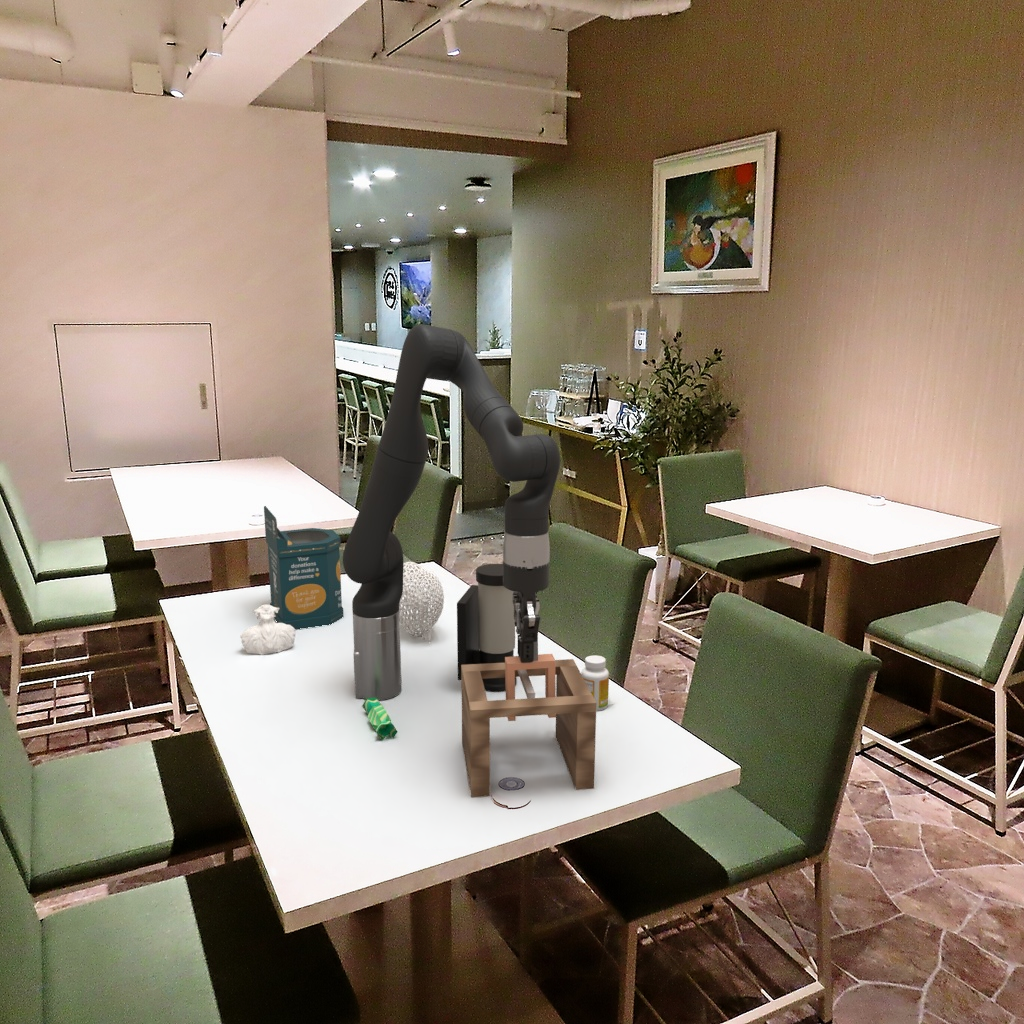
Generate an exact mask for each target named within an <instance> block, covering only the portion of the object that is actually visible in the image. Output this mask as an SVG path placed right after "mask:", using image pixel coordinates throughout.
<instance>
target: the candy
mask: <svg viewBox="0 0 1024 1024" xmlns="http://www.w3.org/2000/svg"><path fill="white" fill-rule="evenodd" d="M361 707H362V708H363V710H364V712H365V713H366V714H367V719H368V721H369V722H370V723H371V726H372V728H373V729H374V731H375V732H376V734H377V736H378V737H379V739H380V740H381V741H384V740H385V739H386V738H387V737H388V736H390V738H392V739H393V740H394V739H395V737H396V735H397V733H398V729H397V728H396V727H395V726H394V724H393V722H392V719H391V717H390V715H389V713H388V712H387V710H386V708H385V706H384V705H383V704H381V702H380V700H378V699H377V697H375V698H367V699H364V702H363V703H362V705H361Z"/></svg>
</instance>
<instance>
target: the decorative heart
mask: <svg viewBox="0 0 1024 1024" xmlns="http://www.w3.org/2000/svg"><path fill="white" fill-rule="evenodd" d="M444 594H445V593H444V589H443V585H442V583H441V580H440V579H439V578H438V576H436V574H434V573H433V572H431V571H429V570H426V569H425V568H424V566H422V565H420V564H419V563H416V562H414V561H406V562H403V593H402V597H401V599H400V603H399V618H400V626H402V628H403V629H404V630H405V631H406V632H407V633H408V634H410V635H411V636H413V637H416V638H418V637H422V640H423V641H425V635H426V633H427V635H428V638H427V639H428V641H427V642H428V643H431V630H432V628H433V627H434V626H435V625H436V624H437V622H438V621H439V618H441V615H442V613H443V609H444V603H445V595H444Z"/></svg>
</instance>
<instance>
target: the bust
mask: <svg viewBox="0 0 1024 1024" xmlns="http://www.w3.org/2000/svg"><path fill="white" fill-rule="evenodd" d="M279 609H280V608H276V607H273V606H271V605H270V604H266V603H265V604H262V605H260V606H259V607H258V608H256V609H255V610H252V613H253V614H254V615H255V616H257V618H256V620H259V619H260V622H259V624H257V625H252V626H250V627H249V628H247V629H245V630H244V631H242V633H241V635H240V639H241V643H242V646H243V649H244V651H246V653H248V654H255V655H256V654H257V655H260V654H263V655H266V654H275V653H276V652H279V653H281V652H282V651H283V652H284V651H286V650H288V649H291V648H292V647H293V645H294V643H295V638H296V630H295V629H294V628H293V627H292V626H291V625H286V624H284V623H277V622H276V621H275V619H274V617H276V616H275V612H276V613H278V610H279Z"/></svg>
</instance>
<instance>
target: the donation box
mask: <svg viewBox="0 0 1024 1024" xmlns="http://www.w3.org/2000/svg"><path fill="white" fill-rule="evenodd" d="M263 513H264V514H263V515H264V532H265V533H264V534H265V543H266V544H267V559H268V572H269V573H268V574H269V576H268V577H269V592H270V602H269V605H271V606H273V607H276V608H280V609H279V610H278V613H276V612H275V616H276V617H274V618H275V619H274V618H273V619H274V621H275V620H276V621H277V622H276V621H275V622H276V623H284V624H286V625H291V626H292V627H293V628H294V629H299V630H301V629H300V628H306V629H309V628H308V627H312V628H316V627H315V626H319V627H323V626H322V625H327V626H332V625H333V624H335V623H337V622H338V621H340V620H341V619H343V618H344V615H345V614H344V608H343V605H342V604H343V603H342V602H343V601H342V580H341V579H342V577H341V556H340V555H341V554H340V552H341V551H340V548H341V546H342V543H341V536H340V535H339V534H338V533H337V532H336V531H334V530H333V529H326V528H325V529H324V528H315V527H308V528H298V529H291V530H290V529H289V530H280V529H279V528H278V521H277V517H276V516H275V515H274V514H273V513H272V512H271V510H269V508H268V507H267V505H264V506H263ZM342 617H343V618H342ZM337 620H338V621H337ZM334 622H335V623H334ZM332 623H333V624H332ZM329 624H330V625H329ZM331 624H332V625H331Z"/></svg>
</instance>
